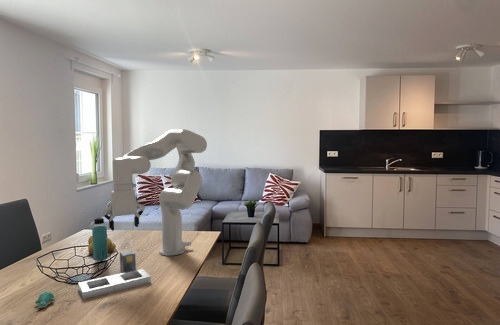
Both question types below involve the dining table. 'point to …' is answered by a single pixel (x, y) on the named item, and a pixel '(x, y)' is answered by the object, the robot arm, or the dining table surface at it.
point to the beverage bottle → (99, 240)
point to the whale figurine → (45, 299)
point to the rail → (113, 283)
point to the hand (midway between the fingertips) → (124, 228)
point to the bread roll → (110, 245)
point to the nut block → (127, 261)
